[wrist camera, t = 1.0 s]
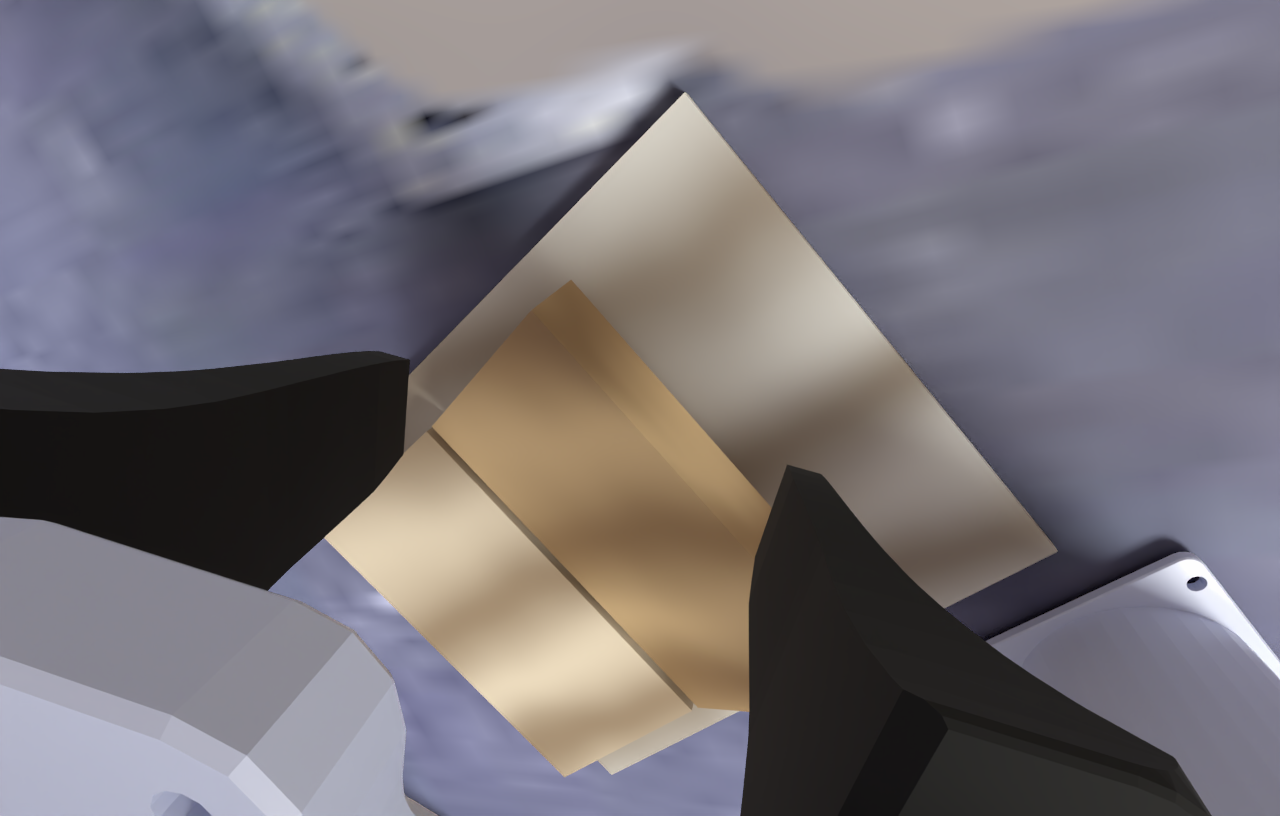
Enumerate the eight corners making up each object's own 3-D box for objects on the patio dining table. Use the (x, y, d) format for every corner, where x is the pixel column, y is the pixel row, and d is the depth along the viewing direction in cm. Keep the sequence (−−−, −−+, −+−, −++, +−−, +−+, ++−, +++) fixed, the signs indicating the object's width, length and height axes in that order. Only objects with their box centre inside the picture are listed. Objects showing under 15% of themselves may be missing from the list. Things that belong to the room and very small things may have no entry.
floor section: (1052, 542, 21) (1077, 580, 19) (609, 767, 29) (596, 809, 27) (687, 93, 19) (675, 86, 17) (317, 471, 27) (281, 495, 25)
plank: (918, 674, 18) (901, 723, 17) (717, 674, 25) (698, 707, 24) (570, 279, 16) (531, 310, 15) (462, 400, 23) (431, 426, 22)
